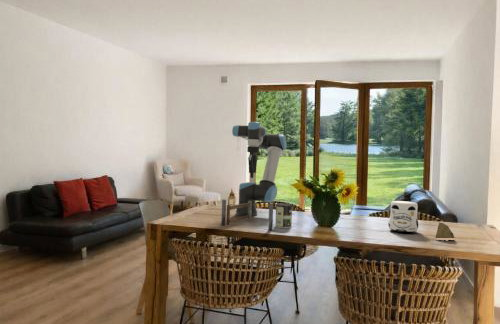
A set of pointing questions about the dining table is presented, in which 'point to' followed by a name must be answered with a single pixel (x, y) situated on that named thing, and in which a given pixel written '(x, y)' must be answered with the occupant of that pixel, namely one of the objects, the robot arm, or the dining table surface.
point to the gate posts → (269, 214)
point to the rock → (444, 231)
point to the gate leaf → (236, 208)
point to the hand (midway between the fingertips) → (252, 182)
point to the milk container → (403, 216)
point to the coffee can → (283, 215)
